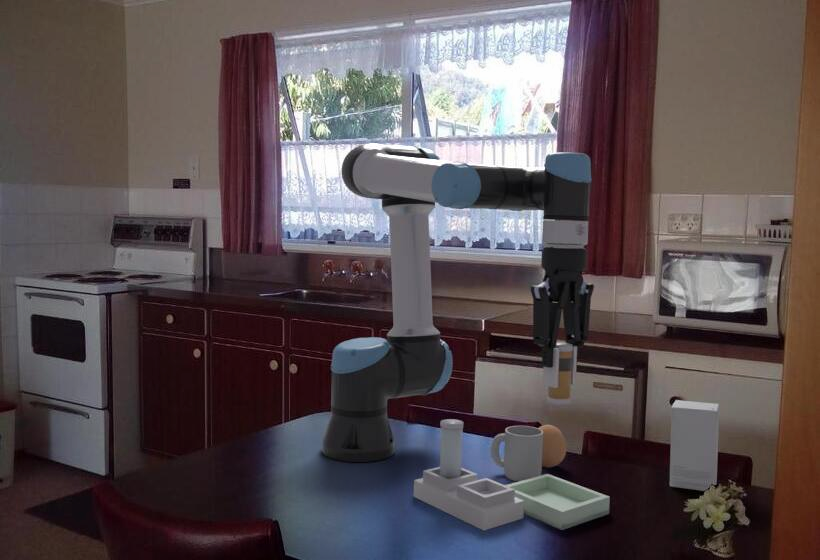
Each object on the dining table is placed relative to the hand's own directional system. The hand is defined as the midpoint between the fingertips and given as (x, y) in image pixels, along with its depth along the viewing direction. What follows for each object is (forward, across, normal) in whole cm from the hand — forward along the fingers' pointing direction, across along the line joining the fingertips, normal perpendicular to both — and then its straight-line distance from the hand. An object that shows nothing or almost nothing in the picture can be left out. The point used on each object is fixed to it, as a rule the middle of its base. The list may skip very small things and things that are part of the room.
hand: (559, 384), depth 132 cm
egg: (+22, +16, +16) cm, 32 cm away
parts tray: (+22, 0, 0) cm, 22 cm away
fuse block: (+22, -12, +9) cm, 26 cm away
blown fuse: (+3, 0, 0) cm, 3 cm away
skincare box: (+22, +31, -7) cm, 39 cm away
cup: (+22, +7, +16) cm, 28 cm away
